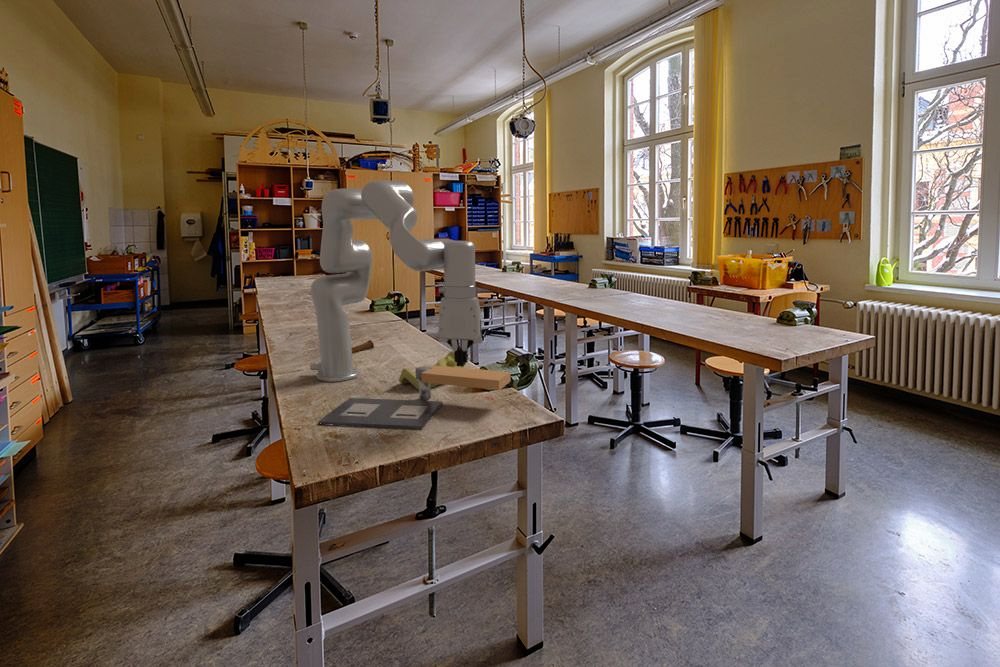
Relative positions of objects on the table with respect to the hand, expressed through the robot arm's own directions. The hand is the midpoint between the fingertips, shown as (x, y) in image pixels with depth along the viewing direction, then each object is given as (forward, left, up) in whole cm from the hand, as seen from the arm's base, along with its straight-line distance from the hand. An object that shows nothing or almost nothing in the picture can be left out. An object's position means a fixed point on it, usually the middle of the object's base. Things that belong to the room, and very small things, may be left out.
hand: (461, 364), depth 143 cm
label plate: (-20, -2, -12) cm, 23 cm away
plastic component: (-15, +25, -13) cm, 32 cm away
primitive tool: (-55, +56, -13) cm, 80 cm away
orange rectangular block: (-2, +6, -6) cm, 9 cm away
